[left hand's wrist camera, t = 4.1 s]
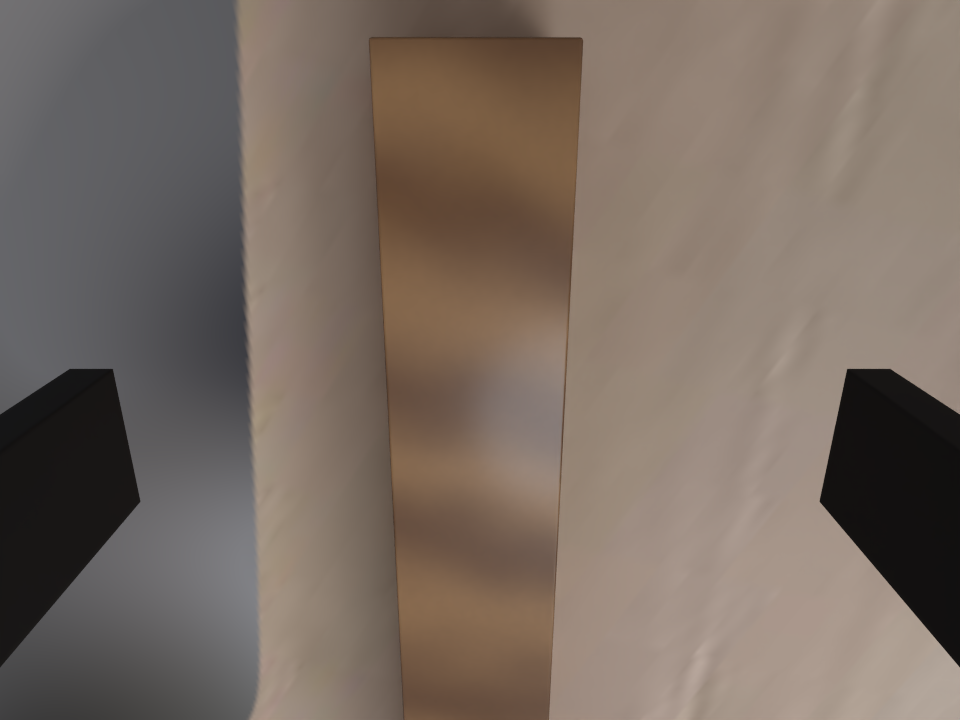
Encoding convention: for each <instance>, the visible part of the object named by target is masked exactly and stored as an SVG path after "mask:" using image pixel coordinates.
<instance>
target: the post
mask: <svg viewBox="0 0 960 720" xmlns="http://www.w3.org/2000/svg"><path fill="white" fill-rule="evenodd" d="M369 52H370V72H371V91H372V110H373V130H374V149H375V169H376V188H377V208H378V227H379V247H380V266H381V285H382V305H383V324H384V344H385V363H386V383H387V402H388V422H389V441H390V461H391V480H392V499H393V519H394V538H395V558H396V577H397V597H398V616H399V636H400V655H401V675H402V694H403V713H404V720H549V705H550V686H551V666H552V646H553V626H554V606H555V587H556V567H557V547H558V527H559V508H560V488H561V468H562V448H563V429H564V409H565V389H566V369H567V350H568V330H569V310H570V290H571V270H572V251H573V231H574V211H575V191H576V172H577V152H578V132H579V112H580V93H581V73H582V53H583V39H582V38H568V37H371V38H370V39H369Z"/></svg>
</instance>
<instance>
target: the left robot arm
mask: <svg viewBox="0 0 960 720" xmlns="http://www.w3.org/2000/svg"><path fill="white" fill-rule="evenodd" d="M139 503H140V497H139V493H138V488H137V483H136V478H135V474H134V469H133V464H132V459H131V454H130V449H129V445H128V440H127V435H126V430H125V425H124V421H123V416H122V411H121V406H120V402H119V397H118V392H117V387H116V382H115V378H114V373H113V369H69V370H68V371H66V372H65V373H63V374H62V375H60V376H58V377H57V378H55V379H54V380H52V381H51V382H49V383H48V384H46V385H45V386H43V387H42V388H40V389H39V390H37V391H36V392H34V393H32V394H31V395H30V396H28V397H26V398H25V399H23V400H22V401H20V402H19V403H17V404H16V405H14V406H13V407H11V408H10V409H8V410H7V411H5V412H4V413H2V414H0V667H1V666H2V664H3V663H4V662H5V661H6V660H7V659H8V657H9V656H10V655H11V654H12V653H13V651H14V650H15V649H16V648H17V647H18V646H19V644H20V643H21V642H22V641H23V640H24V638H25V637H26V636H27V635H28V634H29V633H30V631H31V630H32V629H33V628H34V627H35V625H36V624H37V623H38V622H39V621H40V620H41V618H42V617H43V616H44V615H45V614H46V612H47V611H48V610H49V609H50V608H51V607H52V605H53V604H54V603H55V602H56V601H57V599H58V598H59V597H60V596H61V595H62V593H63V592H64V591H65V590H66V589H67V588H68V586H69V585H70V584H71V583H72V582H73V581H74V579H75V578H76V577H77V576H78V575H79V573H80V572H81V571H82V570H83V569H84V568H85V566H86V565H87V564H88V563H89V562H90V560H91V559H92V558H93V557H94V556H95V555H96V553H97V552H98V551H99V550H100V549H101V547H102V546H103V545H104V544H105V543H106V541H107V540H108V539H109V538H110V537H111V536H112V535H113V533H114V532H115V531H116V530H117V529H118V527H119V526H120V525H121V524H122V523H123V522H124V520H125V519H126V518H127V517H128V516H129V514H130V513H131V512H132V511H133V510H134V508H135V507H136V506H137V505H138V504H139ZM820 503H821V504H822V505H823V506H824V507H825V509H826V510H827V511H828V512H829V513H830V514H831V516H832V517H833V518H834V519H835V520H836V522H837V523H838V524H839V525H840V526H841V527H842V529H843V530H844V531H845V532H846V533H847V535H848V536H849V537H850V538H851V539H852V540H853V542H854V543H855V544H856V545H857V546H858V548H859V549H860V550H861V551H862V552H863V553H864V555H865V556H866V557H867V558H868V559H869V560H870V562H871V563H872V564H873V565H874V566H875V568H876V569H877V570H878V571H879V572H880V573H881V575H882V576H883V577H884V578H885V579H886V581H887V582H888V583H889V584H890V585H891V586H892V588H893V589H894V590H895V591H896V592H897V594H898V595H899V596H900V597H901V598H902V599H903V601H904V602H905V603H906V604H907V605H908V607H909V608H910V609H911V610H912V611H913V612H914V614H915V615H916V616H917V617H918V618H919V620H920V621H921V622H922V623H923V624H924V625H925V627H926V628H927V629H928V630H929V631H930V633H931V634H932V635H933V636H934V637H935V638H936V640H937V641H938V642H939V643H940V644H941V646H942V647H943V648H944V649H945V650H946V651H947V653H948V654H949V655H950V656H951V657H952V659H953V660H954V661H955V662H956V663H957V664H958V666H959V667H960V414H958V413H957V412H955V411H953V410H952V409H950V408H949V407H947V406H946V405H944V404H943V403H941V402H940V401H938V400H937V399H935V398H934V397H932V396H931V395H929V394H928V393H926V392H924V391H923V390H921V389H920V388H918V387H917V386H915V385H914V384H912V383H911V382H909V381H908V380H906V379H905V378H903V377H902V376H900V375H899V374H897V373H895V372H894V371H892V370H891V369H847V373H846V378H845V382H844V387H843V392H842V397H841V402H840V406H839V411H838V416H837V421H836V425H835V430H834V435H833V440H832V445H831V449H830V454H829V459H828V464H827V469H826V473H825V478H824V483H823V488H822V493H821V497H820Z"/></svg>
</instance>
